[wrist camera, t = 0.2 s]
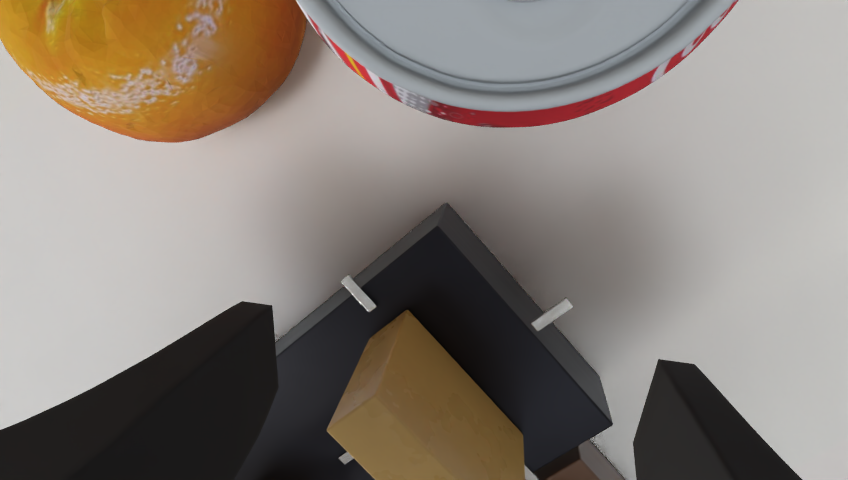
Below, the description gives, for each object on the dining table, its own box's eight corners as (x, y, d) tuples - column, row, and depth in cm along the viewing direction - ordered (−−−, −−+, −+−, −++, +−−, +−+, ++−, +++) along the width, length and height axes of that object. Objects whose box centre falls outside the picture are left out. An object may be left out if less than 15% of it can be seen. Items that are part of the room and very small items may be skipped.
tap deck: (323, 566, 27) (300, 630, 24) (164, 416, 26) (119, 464, 23) (645, 366, 22) (667, 416, 19) (470, 159, 20) (463, 179, 17)
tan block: (368, 338, 20) (322, 437, 15) (407, 308, 19) (373, 399, 14) (483, 459, 20) (476, 591, 15) (523, 434, 20) (529, 562, 15)
